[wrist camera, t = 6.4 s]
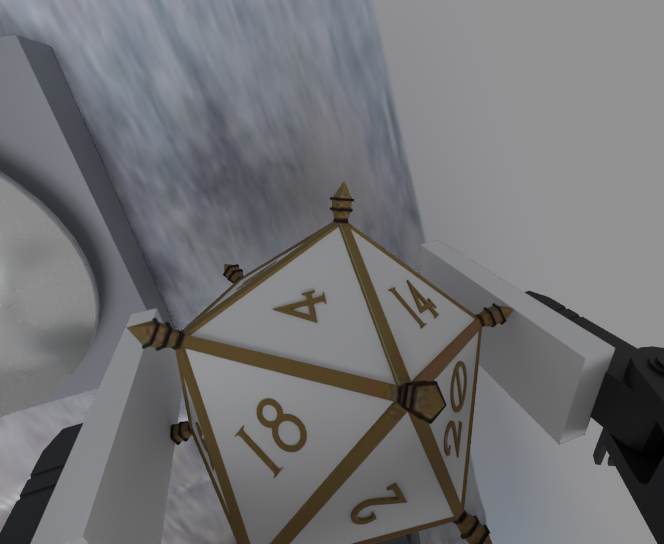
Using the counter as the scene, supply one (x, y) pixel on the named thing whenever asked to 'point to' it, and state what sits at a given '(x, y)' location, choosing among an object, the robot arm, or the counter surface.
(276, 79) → the counter surface
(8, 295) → the pan
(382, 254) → the game die
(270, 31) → the counter surface
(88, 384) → the scale
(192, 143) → the counter surface
